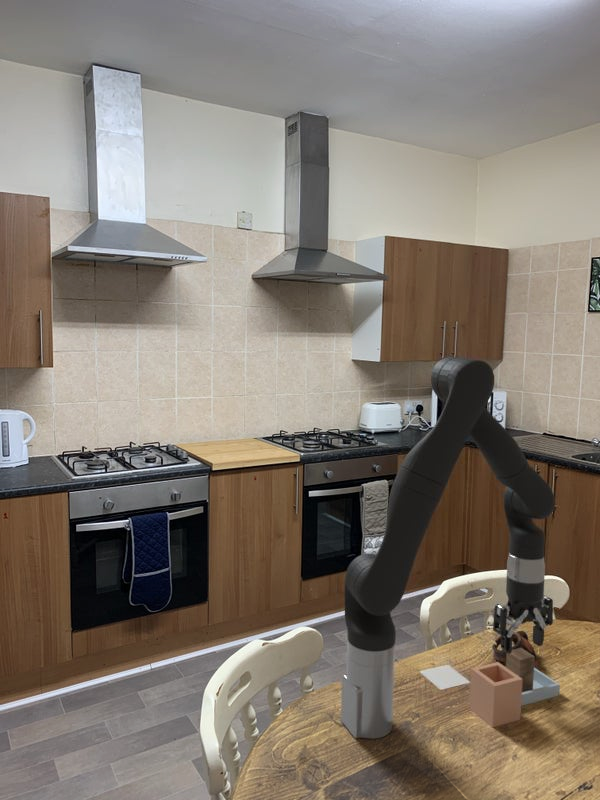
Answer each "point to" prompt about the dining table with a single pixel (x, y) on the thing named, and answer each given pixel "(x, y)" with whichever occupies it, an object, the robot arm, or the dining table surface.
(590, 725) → the dining table surface
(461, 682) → the ceramic tile
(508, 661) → the walnut block
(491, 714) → the terracotta pot
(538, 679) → the blue-grey tub
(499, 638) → the dark brown looped piece
